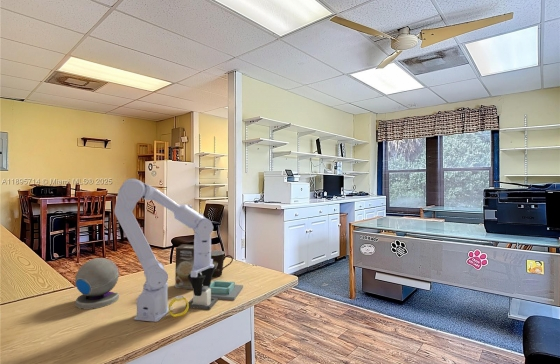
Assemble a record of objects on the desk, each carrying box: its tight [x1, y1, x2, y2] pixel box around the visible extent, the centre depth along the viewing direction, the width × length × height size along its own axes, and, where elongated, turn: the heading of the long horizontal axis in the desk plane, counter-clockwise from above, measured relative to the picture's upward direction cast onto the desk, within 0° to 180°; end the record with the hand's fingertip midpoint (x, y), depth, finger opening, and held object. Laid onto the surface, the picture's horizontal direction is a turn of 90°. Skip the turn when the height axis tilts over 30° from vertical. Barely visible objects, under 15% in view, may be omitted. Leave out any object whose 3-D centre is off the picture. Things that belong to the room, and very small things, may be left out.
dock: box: [208, 280, 244, 301], centre depth 113 cm, size 12×14×3 cm
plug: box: [192, 286, 212, 305], centre depth 103 cm, size 4×5×6 cm
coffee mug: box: [211, 250, 234, 279], centre depth 132 cm, size 12×9×10 cm
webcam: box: [74, 257, 120, 310], centre depth 104 cm, size 13×13×15 cm
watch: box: [168, 295, 190, 318], centre depth 94 cm, size 6×3×6 cm, turn 121°
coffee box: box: [174, 243, 202, 290], centre depth 119 cm, size 9×6×16 cm
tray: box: [185, 297, 219, 310], centre depth 103 cm, size 7×9×1 cm
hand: (202, 290), depth 103 cm, fingers open, 7 cm apart
